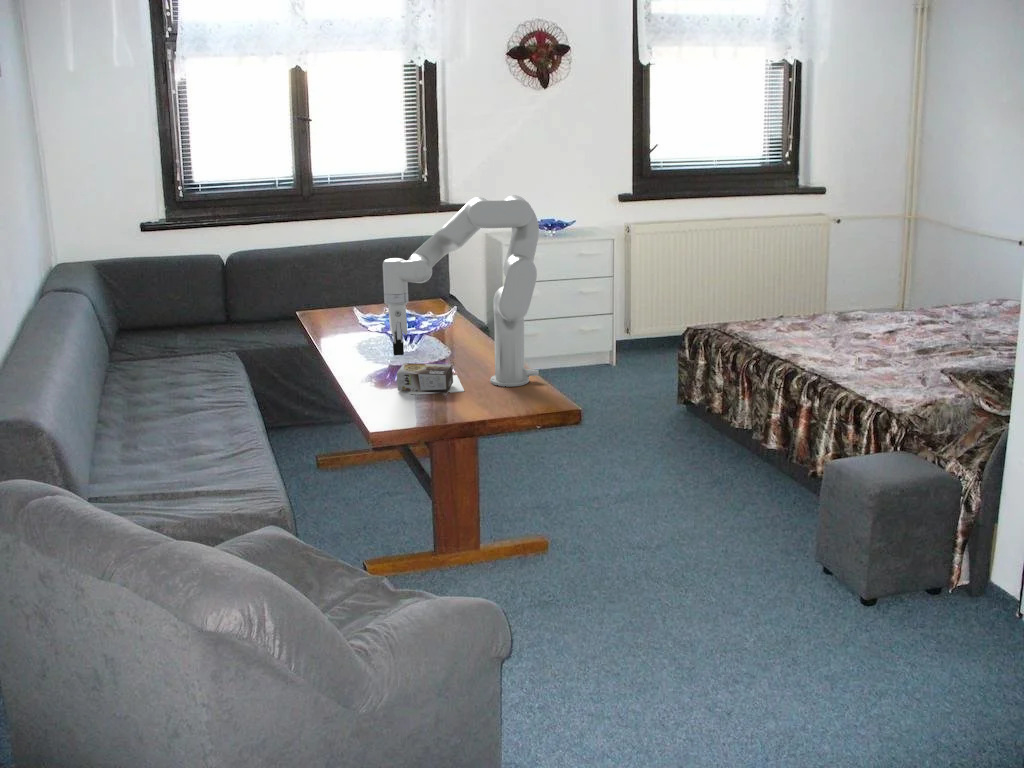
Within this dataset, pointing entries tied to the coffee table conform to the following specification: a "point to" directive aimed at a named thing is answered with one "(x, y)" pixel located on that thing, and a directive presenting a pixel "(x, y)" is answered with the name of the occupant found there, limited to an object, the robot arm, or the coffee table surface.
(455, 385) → the flat white panel
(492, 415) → the coffee table surface
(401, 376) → the coffee box
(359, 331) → the coffee table surface
